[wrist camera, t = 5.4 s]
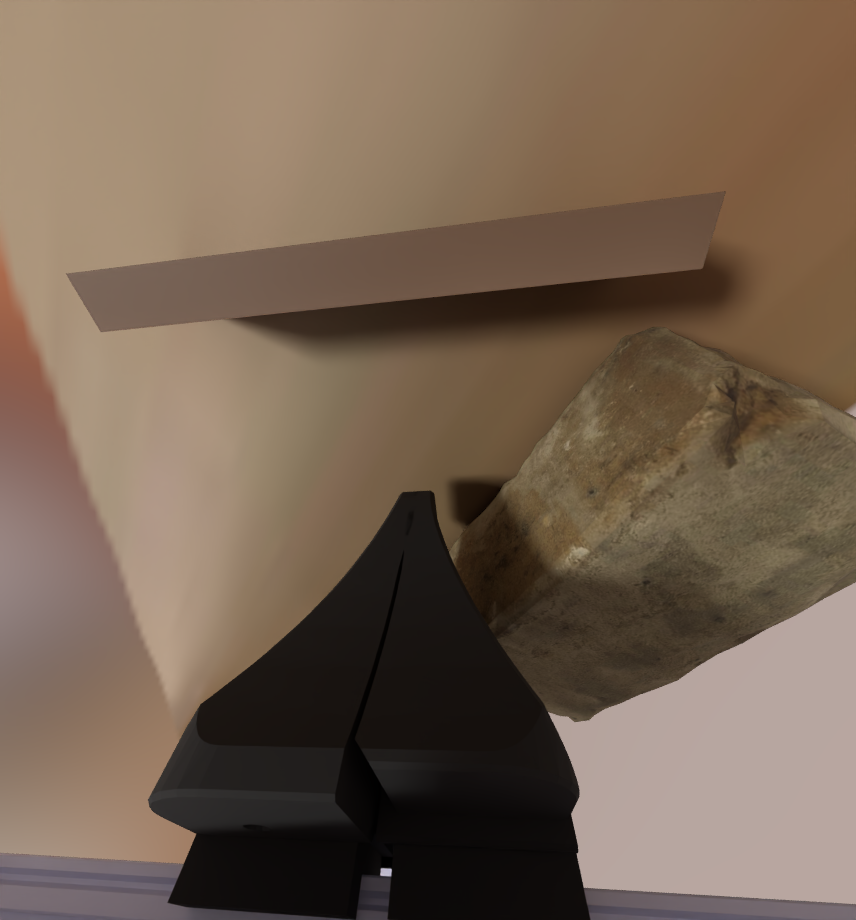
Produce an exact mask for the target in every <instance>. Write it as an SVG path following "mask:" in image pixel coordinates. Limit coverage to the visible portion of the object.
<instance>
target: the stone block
mask: <svg viewBox="0 0 856 920" xmlns="http://www.w3.org/2000/svg"><path fill="white" fill-rule="evenodd" d="M449 554H450V556H451V558H452V560H453V563H454V565H455V567H456V569H457V571H458V573H459V575H460V577H461V579H462V581H463V583H464V585H465V587H466V589H467V591H468V593H469V594H470V596H471V598H472V600H473V601H474V603H475V605H476V607H477V608H478V610H479V612H480V613H481V615H482V616H483V618H484V620H485V621H486V623H487V624H488V626H489V628H490V629H491V631H492V632H493V634H494V635H495V637H496V639H497V640H498V642H499V643H500V645H501V646H502V647H503V649H504V650H505V652H506V653H507V655H508V656H509V657H510V659H511V660H512V662H513V663H514V665H515V666H516V667H517V669H518V670H519V671H520V673H521V674H522V675H523V677H524V678H525V680H526V681H527V682H528V684H529V685H530V686H531V688H532V689H533V690H534V691H535V693H536V694H537V695H538V697H539V698H540V699H541V701H542V702H543V703H544V705H545V707H546V709H547V711H548V712H550V713H553V714H556V715H559V716H568V717H569V718H571V719H572V720H573V721H574V722H579V721H586V720H589V719H591V718H592V717H593V716H594V715H595V714H597V713H599V712H600V711H602V710H604V709H605V708H608V707H611V706H614V705H617V704H620V703H622V702H624V701H626V700H629V699H631V698H633V697H635V696H637V695H640V694H643V693H646V692H648V691H651V690H654V689H657V688H659V687H662V686H664V685H667V684H669V683H672V682H674V681H677V680H679V679H680V678H681V677H683V676H684V675H686V674H687V673H689V672H690V671H691V670H693V669H694V668H696V667H697V666H699V665H700V664H702V663H704V662H705V661H707V660H709V659H710V658H712V657H714V656H715V655H717V654H719V653H721V652H723V651H726V650H728V649H730V648H732V647H735V646H737V645H739V644H741V643H743V642H745V641H747V640H748V639H750V638H752V637H754V636H755V635H757V634H759V633H760V632H762V631H764V630H766V629H768V628H770V627H772V626H774V625H776V624H778V623H780V622H782V621H784V620H786V619H789V618H791V617H793V616H795V615H797V614H798V613H800V612H802V611H804V610H805V609H807V608H809V607H810V606H812V605H814V604H815V603H817V602H819V601H820V600H822V599H824V598H826V597H828V596H830V595H832V594H834V593H836V592H838V591H840V590H841V589H843V588H845V587H847V586H849V585H851V584H853V583H855V582H856V417H854V416H852V415H850V414H848V413H846V412H844V411H842V410H840V409H837V408H835V407H833V406H831V405H830V404H828V403H827V402H825V401H824V400H822V399H821V398H819V397H817V396H815V395H813V394H812V393H810V392H808V391H806V390H804V389H802V388H800V387H798V386H795V385H793V384H790V383H788V382H786V381H783V380H780V379H778V378H775V377H771V376H766V375H764V374H762V373H761V372H759V371H756V370H753V369H750V368H747V367H744V366H743V365H742V364H740V363H739V362H738V361H736V360H735V359H734V358H733V357H731V356H730V355H729V354H727V353H725V352H723V351H722V350H720V349H715V348H708V347H702V346H700V345H698V344H697V343H696V342H694V341H693V340H690V339H687V338H684V337H681V336H679V335H676V334H675V333H673V332H672V331H670V330H669V329H667V328H665V327H652V328H649V329H647V330H645V331H642V332H640V333H637V334H635V335H627V336H625V337H623V338H622V339H621V341H620V342H619V344H618V345H617V347H616V348H615V350H614V351H613V353H612V354H611V355H610V356H609V357H608V358H607V359H606V360H605V361H604V362H603V363H602V364H601V365H600V366H599V367H598V368H597V369H596V370H595V371H594V372H593V374H592V375H591V377H590V378H589V379H588V381H587V382H586V383H585V385H584V386H583V387H582V389H581V390H580V392H579V393H578V394H577V395H576V397H575V398H574V399H573V400H572V402H571V403H570V404H569V405H568V406H567V408H566V409H565V410H564V411H563V413H562V414H561V416H560V417H559V419H558V420H557V421H556V423H555V424H554V426H553V427H552V428H551V430H550V431H549V432H548V433H547V434H546V435H545V436H544V437H543V438H542V439H541V440H540V441H539V442H538V443H537V444H536V445H535V447H534V449H533V451H532V453H531V455H530V456H529V457H528V458H527V459H526V461H525V462H524V463H523V465H522V467H521V469H520V471H519V472H518V474H517V476H516V477H514V478H513V479H511V480H510V481H508V482H506V483H505V484H503V486H502V488H501V490H500V492H499V493H498V495H497V496H496V497H495V499H494V500H493V501H492V503H491V504H490V505H489V506H488V507H487V508H486V509H485V510H484V511H483V513H482V514H481V515H479V516H478V517H477V518H476V519H475V520H474V521H473V522H472V523H471V524H470V525H469V526H468V527H467V528H466V529H465V531H464V532H463V533H462V534H461V535H460V537H459V538H458V540H457V541H456V542H455V544H454V545H453V547H452V548H451V550H450V552H449Z"/></svg>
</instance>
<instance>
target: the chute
mask: <svg viewBox="0 0 856 920" xmlns="http://www.w3.org/2000/svg"><path fill="white" fill-rule="evenodd" d="M725 192H726V191H724V192H716V193H708V194H700V195H692V196H684V197H676V198H668V199H660V200H652V201H644V202H636V203H628V204H620V205H612V206H604V207H596V208H588V209H580V210H572V211H564V212H556V213H548V214H540V215H532V216H524V217H516V218H508V219H500V220H492V221H484V222H476V223H468V224H460V225H452V226H444V227H436V228H428V229H420V230H412V231H404V232H396V233H388V234H380V235H372V236H364V237H356V238H348V239H340V240H332V241H324V242H316V243H308V244H300V245H292V246H284V247H276V248H268V249H260V250H252V251H244V252H236V253H228V254H220V255H212V256H204V257H196V258H188V259H180V260H172V261H164V262H157V263H149V264H141V265H133V266H125V267H117V268H109V269H101V270H93V271H85V272H77V273H69V274H66V275H67V276H68V278H69V280H70V281H71V283H72V285H73V286H74V288H75V290H76V291H77V293H78V295H79V296H80V298H81V300H82V301H83V303H84V305H85V306H86V308H87V310H88V311H89V313H90V315H91V316H92V318H93V320H94V321H95V323H96V325H97V326H98V328H99V330H100V331H101V332H107V331H116V330H126V329H135V328H145V327H154V326H164V325H173V324H183V323H192V322H202V321H211V320H221V319H230V318H240V317H249V316H259V315H268V314H278V313H287V312H297V311H306V310H316V309H325V308H335V307H344V306H354V305H363V304H373V303H382V302H392V301H401V300H411V299H420V298H430V297H439V296H449V295H458V294H468V293H477V292H487V291H496V290H506V289H515V288H525V287H534V286H544V285H553V284H563V283H572V282H582V281H591V280H601V279H610V278H620V277H629V276H639V275H648V274H658V273H667V272H677V271H686V270H696V269H703V266H704V262H705V259H706V256H707V252H708V249H709V246H710V242H711V239H712V236H713V232H714V229H715V226H716V222H717V219H718V216H719V212H720V209H721V206H722V202H723V199H724V196H725Z"/></svg>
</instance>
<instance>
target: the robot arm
mask: <svg viewBox="0 0 856 920" xmlns="http://www.w3.org/2000/svg"><path fill="white" fill-rule="evenodd" d="M578 798H579V786H578V782H577V779H576V776H575V773H574V770H573V767H572V764H571V761H570V759H569V756H568V754H567V751H566V750H565V747H564V745H563V742H562V740H561V739H560V736H559V734H558V732H557V730H556V728H555V726H554V724H553V722H552V720H551V718H550V716H549V714H548V711H547V709H546V707H545V705H544V703H543V702H542V701H541V699H540V698H539V697H538V695H537V694H536V693H535V691H534V690H533V689H532V688H531V686H530V685H529V684H528V682H527V681H526V680H525V678H524V677H523V675H522V674H521V673H520V671H519V670H518V669H517V667H516V666H515V665H514V663H513V662H512V660H511V659H510V657H509V656H508V655H507V653H506V652H505V650H504V649H503V647H502V646H501V645H500V643H499V642H498V640H497V639H496V637H495V635H494V634H493V632H492V631H491V629H490V628H489V626H488V624H487V623H486V621H485V620H484V618H483V616H482V615H481V613H480V612H479V610H478V608H477V607H476V605H475V603H474V601H473V600H472V598H471V596H470V594H469V593H468V591H467V589H466V587H465V585H464V583H463V581H462V579H461V577H460V575H459V573H458V571H457V569H456V567H455V565H454V563H453V560H452V558H451V556H450V554H449V551H448V549H447V546H446V544H445V541H444V538H443V535H442V533H441V530H440V527H439V523H438V520H437V513H436V504H435V496H434V493H433V492H431V491H416V492H402V493H401V494H400V496H399V498H398V499H397V501H396V503H395V505H394V507H393V508H392V510H391V512H390V513H389V515H388V517H387V518H386V520H385V521H384V523H383V525H382V526H381V528H380V529H379V531H378V532H377V534H376V535H375V537H374V538H373V540H372V541H371V542H370V544H369V545H368V546H367V548H366V549H365V550H364V552H363V553H362V554H361V556H360V557H359V558H358V560H357V561H356V562H355V564H354V565H353V566H352V567H351V569H350V570H349V571H348V572H347V574H346V575H345V576H344V577H343V578H342V579H341V581H340V582H339V583H338V584H337V585H336V586H335V587H334V588H333V590H332V591H331V592H330V593H329V594H328V595H327V596H326V597H325V598H324V599H323V600H322V601H321V602H320V603H319V604H318V605H317V606H316V607H315V608H314V609H313V610H312V612H311V613H310V614H308V615H307V616H306V617H305V618H304V619H303V620H302V621H301V622H300V623H299V624H298V625H297V626H296V627H295V628H294V629H293V630H291V631H290V632H289V633H288V634H287V635H286V636H285V637H284V638H282V639H281V640H280V641H279V642H278V643H277V644H276V645H275V646H273V647H272V648H271V649H270V650H269V651H268V652H267V653H266V654H264V655H263V656H262V657H261V658H260V659H258V660H257V661H256V662H255V663H254V664H252V665H251V666H250V667H249V668H247V669H246V670H245V671H243V672H242V673H241V674H240V675H238V676H237V677H236V678H234V679H233V680H232V681H231V682H229V683H228V684H227V685H225V686H224V687H223V688H222V689H220V690H219V691H218V692H216V693H215V694H214V695H213V696H211V697H210V698H208V699H207V700H206V701H204V702H203V703H202V704H200V706H199V708H198V709H197V711H196V713H195V714H194V716H193V718H192V719H191V721H190V723H189V724H188V726H187V728H186V729H185V731H184V733H183V735H182V737H181V739H180V741H179V743H178V744H177V746H176V748H175V750H174V752H173V754H172V756H171V758H170V760H169V761H168V763H167V765H166V767H165V769H164V771H163V773H162V775H161V777H160V779H159V780H158V782H157V784H156V786H155V788H154V790H153V792H152V794H151V795H150V797H149V799H148V801H149V807H150V808H151V810H152V811H153V812H154V813H156V814H157V815H159V816H161V817H163V818H165V819H167V820H169V821H171V822H173V823H175V824H177V825H179V826H181V827H183V828H185V829H188V830H190V831H192V832H194V833H196V837H195V839H194V841H193V844H192V846H191V848H190V851H189V853H188V855H187V858H186V860H185V863H184V864H176V863H160V862H159V863H158V862H143V861H127V860H109V859H93V858H77V857H60V856H44V855H27V854H9V853H0V920H856V904H841V903H825V902H809V901H792V900H791V901H790V900H775V899H758V898H742V897H724V896H708V895H691V894H676V893H659V892H642V891H626V890H609V889H591V888H584V887H583V882H582V878H581V873H580V869H579V864H578V859H577V854H576V853H578V844H577V839H576V835H575V830H574V826H573V821H572V817H571V813H572V811H573V809H574V807H575V805H576V802H577V801H578Z"/></svg>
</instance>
